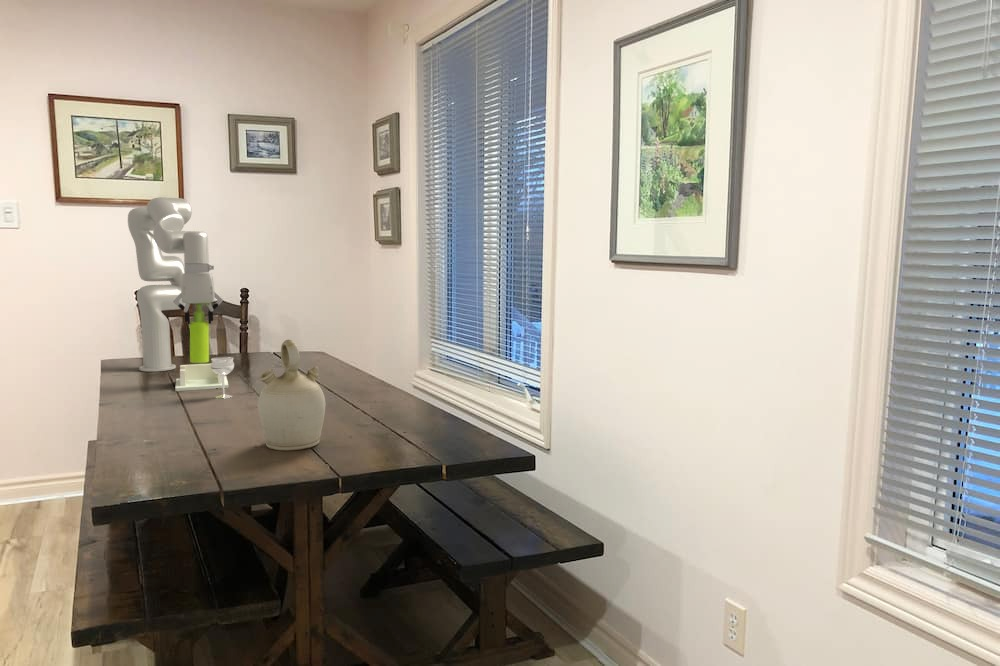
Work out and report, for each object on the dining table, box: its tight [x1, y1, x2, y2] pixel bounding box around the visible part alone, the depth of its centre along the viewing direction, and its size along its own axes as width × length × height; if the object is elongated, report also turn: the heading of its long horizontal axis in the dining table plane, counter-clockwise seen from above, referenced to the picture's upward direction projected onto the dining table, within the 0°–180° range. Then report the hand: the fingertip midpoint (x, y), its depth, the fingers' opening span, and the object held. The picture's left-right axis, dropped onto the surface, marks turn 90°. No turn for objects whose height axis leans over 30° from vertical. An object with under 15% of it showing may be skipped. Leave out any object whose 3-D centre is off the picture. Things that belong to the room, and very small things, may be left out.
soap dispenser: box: [189, 303, 210, 364], centre depth 248 cm, size 6×7×20 cm
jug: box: [257, 339, 327, 452], centre depth 175 cm, size 15×16×25 cm
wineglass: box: [210, 356, 235, 399], centre depth 229 cm, size 7×7×12 cm
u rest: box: [174, 363, 229, 392], centre depth 250 cm, size 18×16×6 cm
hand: (199, 323), depth 247 cm, fingers closed on soap dispenser, 5 cm apart
